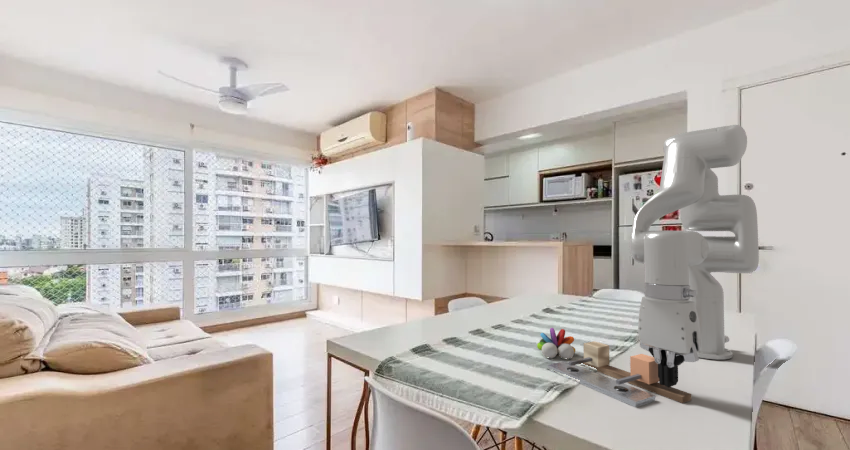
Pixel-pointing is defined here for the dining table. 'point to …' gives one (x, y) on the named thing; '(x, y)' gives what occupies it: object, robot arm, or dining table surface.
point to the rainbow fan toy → (556, 345)
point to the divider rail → (599, 359)
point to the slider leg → (641, 370)
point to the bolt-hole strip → (604, 384)
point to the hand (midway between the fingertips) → (668, 384)
